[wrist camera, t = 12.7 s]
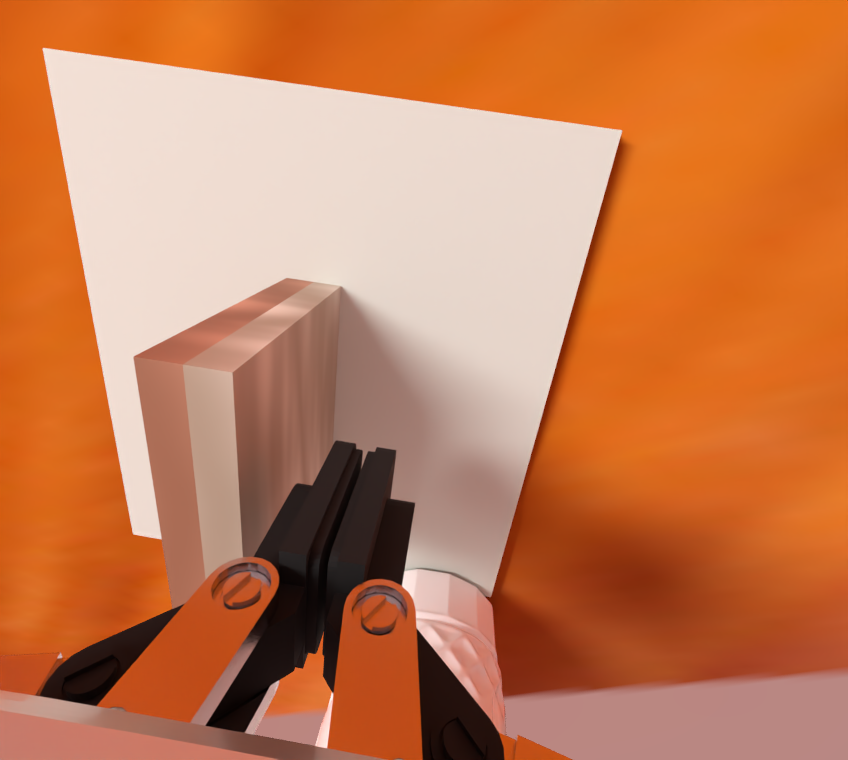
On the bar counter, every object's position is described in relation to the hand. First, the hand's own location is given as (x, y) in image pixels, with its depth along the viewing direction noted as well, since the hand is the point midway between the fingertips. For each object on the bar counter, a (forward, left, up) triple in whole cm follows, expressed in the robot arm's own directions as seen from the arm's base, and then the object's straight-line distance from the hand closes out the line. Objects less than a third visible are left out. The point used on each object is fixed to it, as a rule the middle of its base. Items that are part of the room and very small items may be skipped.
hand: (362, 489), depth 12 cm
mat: (+3, 0, -7) cm, 7 cm away
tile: (+3, 0, -6) cm, 7 cm away
